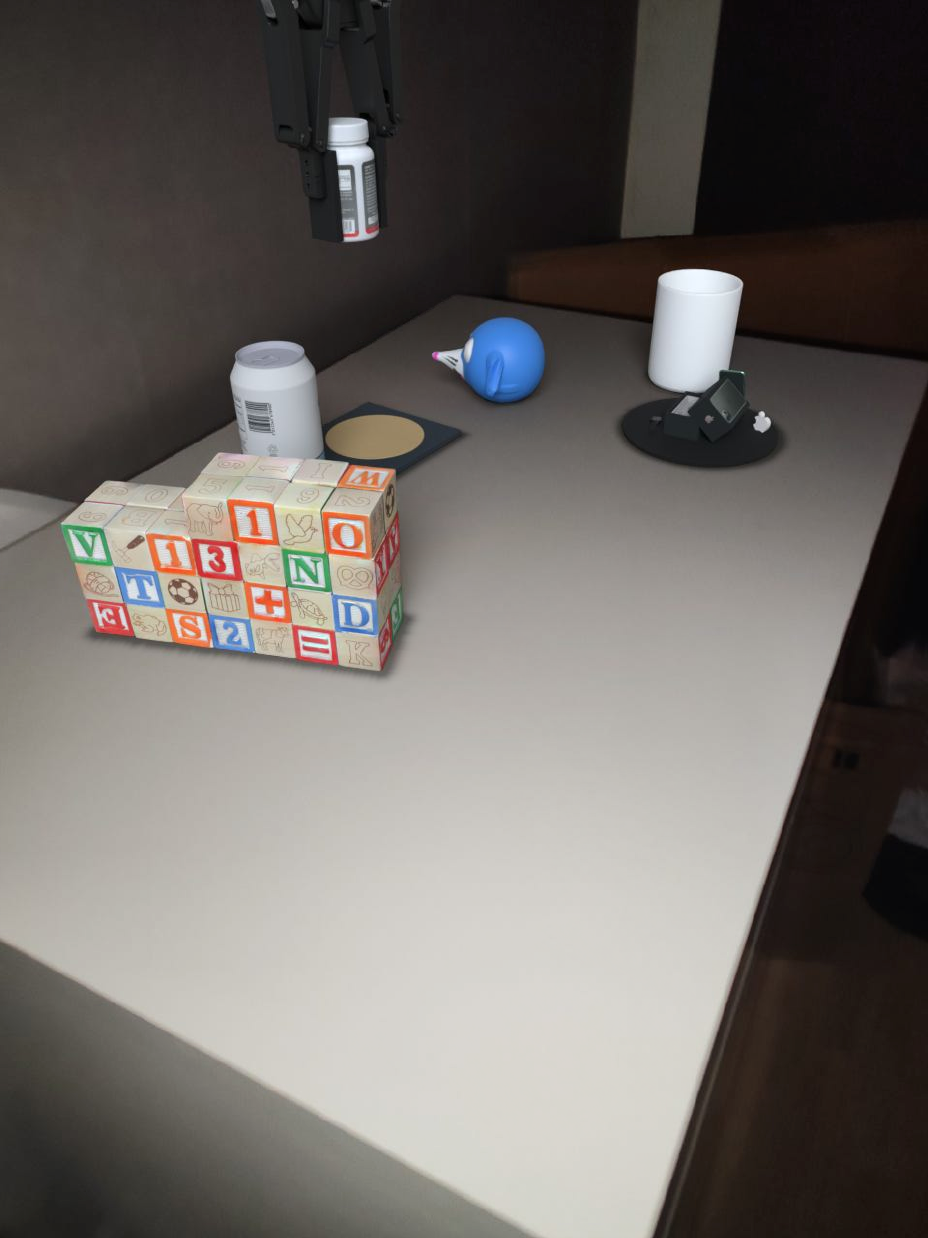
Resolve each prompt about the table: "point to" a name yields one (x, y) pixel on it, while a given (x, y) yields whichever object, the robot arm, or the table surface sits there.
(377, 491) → the stack of blocks
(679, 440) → the apple device display stand
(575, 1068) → the table surface
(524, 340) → the blue mole toy
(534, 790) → the table surface
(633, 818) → the table surface
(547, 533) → the table surface
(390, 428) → the mat
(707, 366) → the mug
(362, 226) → the pill bottle
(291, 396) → the beverage can
